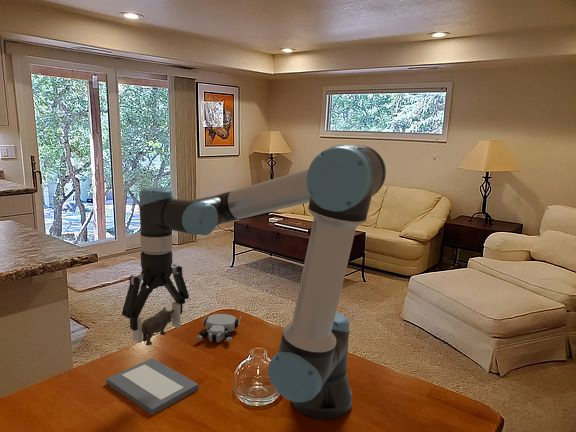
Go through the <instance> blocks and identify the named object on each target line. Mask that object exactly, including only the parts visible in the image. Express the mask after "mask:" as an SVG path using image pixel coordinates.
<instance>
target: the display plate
mask: <svg viewBox="0 0 576 432" xmlns="http://www.w3.org/2000/svg"><path fill="white" fill-rule="evenodd" d="M105 381H106V385H108V387H110V388H112V389H113V390H115V391H117V392H118V393H120V395H122V396H124V397H125V398H126V399H128V400H130V401H131V402H132V403H133V404H135V405H137V406H138V407H139V408H141V409H142V410H144V411H145V412H147V413H148V414H150V415H151V416H153V415H156V414H157V413H159V412H161V411H162V410H165V409H166V408H168V407H170V406H171V405H173V404H176V403H177V402H179V401H181V400H182V399H184V398H185V397H187V396H189V395H191V394H194V393H195V392H196V391H198V390H199V383H197V382H195V380H192V379H190V378H189V377H186V376H185V375H183V374H182V373H180V372H178V371H176V370H174V369H172V368H170V367H169V366H167V365H165V364H163V363H161V362H160V361H158V360H156V359H154V358H153V357H151V358H150V359H148V360H145V361H143V362H140V363H138V364H135V365H134V366H132V367H130V368H127V369H125V370H123V371H120V372H118V373H115V374H113V375H111V376H109V377H107V378H105Z"/></svg>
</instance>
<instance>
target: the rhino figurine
mask: <svg viewBox="0 0 576 432" xmlns="http://www.w3.org/2000/svg"><path fill="white" fill-rule="evenodd" d="M173 312H174V310H172V309H171V310H167V308H166V307H163V309H161V310H159V311H158V312H157V313H155V314H154V315H153V316H151V317H148V318H146V319H144V320H143V322H142V342H145V346H148V347H149V346H152V345H153V342H152V337H153V336H154V334H158V333H159V335H161V336H165V335H166V332H165V328H166V327H167V326H168V324H170V323H172V313H173Z"/></svg>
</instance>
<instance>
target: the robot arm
mask: <svg viewBox="0 0 576 432" xmlns="http://www.w3.org/2000/svg"><path fill="white" fill-rule="evenodd" d="M386 169H387V167H386V164H385V162H384V159H383V157H382V156H381V155H380V153H379V152H378V151H376V150H375V149H374V148H372V147H370V146H367V145H364V144H353V145H351V144H337V145H333V146H331V147H328V148H327V149H324V150H323V151H321V152H320V153H319V154H317V155H316V156H315V157H314V158H313V160H312V161H311V162H310V165H309V167H308V169H304V170H300V171H297V172H293V173H289V174H286V175H283V176H280V177H275V178H272V179H269V180H265V181H261V182H259V183H255V184H252V185H247V186H245V187H241V188H238V189H234V190H230V191H227V192H223V193H220V194H219V193H218V194H217V195H211V196H207V197H206V196H205V197H201V198H196V199H191V200H184V199H176V198H174V197H173V191H172V189H170V188H167V187H148V188H144V189H142V190H141V191H140V193H139V204H138V208H139V225H140V231H139V232H140V233H139V234H140V237H139V238H140V250H141V252H140V266H141V272H140V274H138V275H133V274H132V275H130V276H129V285H128V286H129V287H128V288H127V289H128V290H127V293H126V297H125V300H124V304H123V307H122V312H121V316H123V317H125V318H127V319H129V328H130V330H132V340H133V341H135V342H137V343H138V344H141V343H142V342H143V333H142V323H143V322H142V319H143V318H142V316H140V314H141V312H142V311H143V308H144V306H145V304H146V302H147V300H148V299H149V297H150V294H151V293H152V292H153V291H154V290H155V289H158V288H159V287H165V289H166V290H167V291H168V293H169V295H170V296H171V297H172V300H174V301H171V311H172V310H174V312H173V313H172V319H171V326H172V327H175V328H177V329H179V328H182V327H181V322H182V321H181V319H182V318H181V315H182V314H183V305H184V304H186V300H188V299H189V298H190V294H189V291H188V287H187V286H186V282H185V280H184V276H183V267H182V266H180V265H178V264H173V251H172V249H173V231H174V232H179V233H186V234H190V235H193V236H198V235H199V236H208V235H211V234H212V232H213V231H214V230H215V229H216V227H217V226H219V225H223V224H226V223H227V224H228V223H230V222H236V221H238V220H242V219H245V218H250V217H255V216H258V215H263V214H267V213H270V212H274V211H278V210H282V209H288V208H292V207H295V206H300V205H304V204H308V207H307V209H308V211H309V212H310V214H311V216H312V217H313V221H312V225H311V230H310V234H309V240H308V245H307V250H306V254H305V259H304V262H303V263H304V264H303V267H302V268H303V269H302V274H301V277H300V283H299V287H298V293H297V298H296V302H295V307H294V310H293V317H292V320H291V321H290V322H289V323H287V324H286V325H284V327H283V330H282V333H281V338H280V344H279V348H278V351H277V353H275V354H274V355H273V356H272V357H271V359H270V361H269V364H268V366H267V374H268V378H269V381H270V383H271V384H272V386H274V388H275V390H276V392H278V394H280V395H281V396H282V397H283V398H285V399H286V400H289V401H291V402H292V403H291V404H292V405H293V406H294V408H295V409H296V410H298V412H300V413H301V414H303V415H305V416H308V417H309V418H315V419H321V420H322V419H323V420H331V419H336V418H339V417H342V416H344V415H346V414H347V413H348V412H349V411H350V410H351V408H352V402H353V401H352V400H353V392H352V390H351V386H350V383H349V379H348V375H347V368H348V353H349V342H350V341H349V340H350V339H349V336H350V321H349V319H348V317H347V316H345V315H343V314H341V313H339V312H337V310H338V306H339V302H340V299H341V293H342V290H343V284H344V281H345V277H346V272H347V269H348V268H347V267H348V264H349V259H350V254H351V251H352V247H353V243H354V238H355V234H356V230H357V228H358V227H359V226H361V225H362V224H364V223H365V222H366V221H367V217H368V213H369V209H370V206H371V201H372V197H374V196H375V195H376V194H377V193H378V192H380V190H381V189H382V187H383V185H384V183H385V180H386V176H387V170H386ZM171 275H173V280H174V282H173V281H172V279H171V278H170V277H171ZM174 283H175V285H174Z"/></svg>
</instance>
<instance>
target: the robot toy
mask: <svg viewBox="0 0 576 432" xmlns="http://www.w3.org/2000/svg"><path fill="white" fill-rule="evenodd" d="M207 316H208V314H205V317H204V320H203V321H202V324H203V325H204V327H205V329H206V330H202V331H201V332H199V335H197V336H196V339H197V340H203V339H206V338H207V337H208V340H209V341H210V342H211V343H212V342H215V343H219V342H222V341H223V340H224V339H225V341H227V342H232V341H233V338H232V334H231V332H235V330H236V329H237V328H238V327H239V326H240V322H241V318H242V316H239V319H237V316H234V315H232V314H227V313H217V314H216V313H214V314H211V315H209V316H208V317H207Z"/></svg>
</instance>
